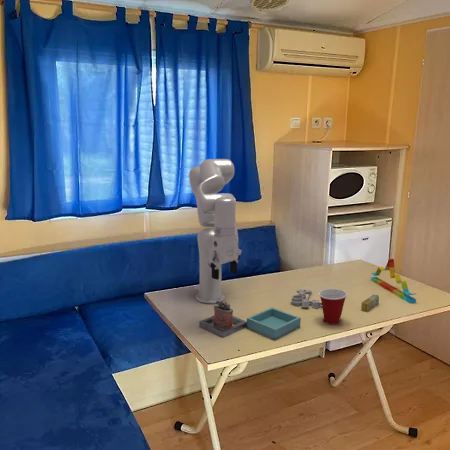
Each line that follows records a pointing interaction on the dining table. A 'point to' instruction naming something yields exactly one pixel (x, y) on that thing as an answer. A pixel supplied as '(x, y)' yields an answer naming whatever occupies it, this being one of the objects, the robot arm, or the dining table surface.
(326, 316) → the plastic cup
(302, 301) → the pulley system
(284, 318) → the tray
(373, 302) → the medication box
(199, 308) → the dining table surface
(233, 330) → the gray square frame
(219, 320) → the lighter
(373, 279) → the rainbow zigzag toy
